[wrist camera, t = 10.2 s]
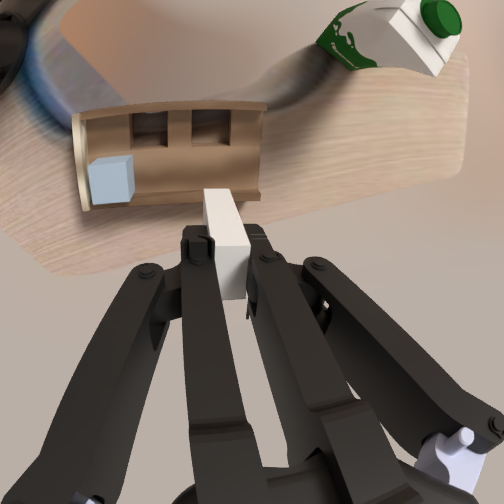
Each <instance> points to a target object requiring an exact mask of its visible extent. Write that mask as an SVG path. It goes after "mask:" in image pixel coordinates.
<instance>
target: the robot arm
mask: <svg viewBox="0 0 504 504" xmlns="http://www.w3.org/2000/svg"><path fill="white" fill-rule="evenodd" d="M1 1H2V0H0V3H1ZM27 42H28V30H27V25H26V23H25V21H24V19H23V18H22V17H21V16H20V15H18V14H15V13H11V12H0V94H1V93H2V92H3V91H4V90H5V89H6V88H7V87H8V86H9V85H10V83H11V82H12V81H13V79H14V77H15V76H16V74H17V72H18V70H19V68H20V66H21V64H22V62H23V59H24V56H25V52H26V48H27ZM180 243H181V262H180V263H179V264H178V265H177V266H175V267H173V268H171V269H167V270H163V268H162V267H161V266H159V265H158V264H154V263H144V264H140V265H138V266H136V267H134V268H133V269H132V270H131V272H130V273H129V275H128V276H127V278H126V280H125V281H124V283H123V285H122V286H121V288H120V290H119V291H118V293H117V295H116V296H115V298H114V300H113V301H112V303H111V305H110V307H109V308H108V310H107V312H106V313H105V315H104V317H103V319H102V321H101V322H100V324H99V326H98V328H97V330H96V331H95V333H94V335H93V337H92V339H91V341H90V343H89V344H88V346H87V348H86V350H85V352H84V354H83V356H82V358H81V360H80V362H79V364H78V366H77V368H76V370H75V372H74V374H73V376H72V378H71V380H70V382H69V385H68V387H67V389H66V391H65V393H64V396H63V398H62V400H61V402H60V405H59V407H58V409H57V411H56V414H55V416H54V418H53V421H52V423H51V426H50V428H49V431H48V433H47V436H46V438H45V441H44V444H43V446H42V449H41V452H40V455H39V456H38V457H37V458H36V460H35V461H34V462H33V463H32V464H31V465H30V467H28V469H27V470H26V471H25V472H24V473H23V474H22V476H21V477H20V478H19V479H18V480H17V482H16V483H15V484H14V485H13V486H12V487H11V489H10V490H9V491H8V492H7V493H6V495H5V496H4V498H3V500H2V502H1V504H116V502H117V500H118V498H119V496H120V493H121V490H122V486H123V483H124V479H125V475H126V471H127V466H128V462H129V458H130V455H131V451H132V447H133V443H134V440H135V435H136V432H137V428H138V425H139V421H140V418H141V414H142V410H143V407H144V404H145V400H146V397H147V394H148V390H149V387H150V384H151V381H152V377H153V374H154V371H155V368H156V364H157V362H158V359H159V355H160V352H161V349H162V346H163V343H164V340H165V337H166V334H167V331H168V328H169V325H170V320H174V319H177V318H181V317H182V332H183V333H182V334H183V355H184V371H185V385H186V397H187V409H188V420H189V441H190V450H191V457H192V465H193V472H194V479H195V484H193V485H192V486H190V487H188V488H187V489H186V490H185V491H183V492H182V493H181V494H180V495H179V496H178V497H177V498H176V499H175V500H174V502H173V503H172V504H479V503H478V502H477V500H476V499H475V498H474V496H473V495H472V493H473V490H474V488H475V485H476V483H477V480H478V477H479V474H480V472H481V468H482V466H483V463H484V460H485V456H486V454H487V453H488V452H489V451H490V450H492V449H493V448H495V447H496V446H497V445H499V444H500V443H502V442H503V440H504V415H503V414H502V413H501V412H500V411H498V410H496V409H495V408H493V407H491V406H490V405H488V404H486V403H485V402H483V401H481V400H480V399H478V398H476V397H475V396H473V395H471V394H469V393H468V392H466V391H465V390H463V389H462V388H461V387H460V386H459V385H458V384H457V383H456V382H455V381H454V380H453V379H452V378H451V377H450V375H448V373H446V372H445V370H444V369H443V368H442V367H441V366H440V365H439V364H438V363H437V362H436V361H435V360H434V359H433V358H432V357H431V356H430V355H429V354H428V353H427V352H426V351H425V350H424V349H423V348H422V347H421V346H420V345H419V344H418V343H417V342H416V341H415V340H414V339H413V338H412V337H411V336H410V335H409V334H408V333H407V332H406V331H405V330H403V329H402V327H400V326H399V325H398V324H397V323H396V322H395V321H394V320H393V319H392V318H391V317H390V316H389V315H388V314H387V313H386V312H385V311H383V309H382V308H380V307H379V306H378V305H377V304H376V303H375V302H374V301H373V300H372V299H371V298H370V297H369V296H368V295H366V293H364V292H363V291H362V290H361V289H360V288H359V287H358V286H357V285H356V284H354V283H353V282H352V281H351V280H350V279H349V278H348V277H347V276H346V275H344V273H342V272H341V271H340V270H339V269H338V268H337V267H336V266H335V265H334V264H332V263H331V262H330V261H328V260H327V259H324V258H322V257H308V258H306V259H305V260H304V262H303V265H297V264H291V263H287V262H286V260H285V258H284V257H283V256H282V254H280V253H279V252H277V251H274V250H273V248H272V246H271V244H270V242H269V240H268V239H267V236H266V235H265V232H264V230H263V228H261V227H260V226H259V225H257V224H242V221H241V218H240V216H239V213H238V211H237V208H236V205H235V203H234V200H233V197H232V195H231V192H230V190H229V189H204V196H203V225H190V226H186V227H185V228H184V229H183V234H182V240H181V242H180ZM246 290H247V294H248V304H247V314H246V319H249V315H250V317H251V321H252V325H253V328H254V332H255V335H256V339H257V342H258V346H259V349H260V353H261V357H262V360H263V364H264V367H265V370H266V374H267V378H268V381H269V384H270V388H271V391H272V395H273V398H274V402H275V405H276V408H277V412H278V415H279V419H280V422H281V425H282V429H283V431H284V435H285V439H286V442H287V457H288V464H289V468H277V467H263V466H262V463H261V459H260V455H259V451H258V447H257V443H256V439H255V436H254V432H253V429H252V427H251V425H250V424H249V423H248V421H247V419H246V415H245V411H244V406H243V402H242V397H241V393H240V389H239V384H238V379H237V375H236V370H235V365H234V361H233V355H232V350H231V345H230V340H229V335H228V330H227V325H226V320H225V314H224V309H223V304H222V300H235V299H245V298H246V297H245V296H246ZM325 301H326V302H327V303H328V304H329V307H328V308H326V307H325V306H324V305H323V304H324V302H325ZM346 381H347V382H348V383H349V385H350V386H351V387H352V388H353V389H354V391H355V392H356V393H357V394H358V396H359V397H360V398H361V399H356V398H355V397H354V396H353V394H352V392H351V390H350V388H349V386H348V384H347V382H346ZM380 423H381V424H382V425H383V426H384V428H385V429H386V430H387V431H388V432H389V434H390V435H391V436H392V437H393V439H395V441H396V442H397V443H398V444H399V445H400V446H401V447H402V448H403V449H404V450H405V451H407V452H408V453H409V454H410V455H412V456H413V457H415V458H416V459H418V460H417V461H416V462H415V465H414V467H412V466H410V465H408V464H406V463H404V462H403V461H401V460H399V459H397V458H396V456H395V454H394V451H393V449H392V447H391V445H390V443H389V441H388V439H387V437H386V435H385V433H384V430H383V428H382V426H381V424H380Z"/></svg>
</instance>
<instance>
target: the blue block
mask: <svg viewBox="0 0 504 504" xmlns="http://www.w3.org/2000/svg"><path fill="white" fill-rule="evenodd" d="M88 174H89V182H90V189H91V196H92V202H93V205H95V204H106V203H118V202H130V200H131V198H132V196H133V194H134V192H135V182H134V169H133V155H124V156H115V157H106V158H97V159H96V160H95V161H94V162H92V163H91V164H90V165H89V166H88Z"/></svg>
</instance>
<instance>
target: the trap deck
mask: <svg viewBox="0 0 504 504" xmlns="http://www.w3.org/2000/svg"><path fill="white" fill-rule="evenodd" d="M267 105H268V103H263V102H250V101H214V100H208V101H173V102H157V103H145V104H134V105H125V106H117V107H109V108H102V109H96V110H90V111H85V112H80V113H76V114H72V129H73V142H74V153H75V163H76V171H77V179H78V186H79V192H80V198H81V204H82V210H83V212H84V211H90V209H101V208H113V207H126V206H140V205H156V204H175V203H198V202H203V196H204V189H229V190H230V192H231V195H232V197H233V200H234V201H260V197H261V194H260V192H259V191H258V176H259V162H260V148H261V134H262V121H263V111H267ZM192 109H230V111H229V132H228V143H191V133H192ZM153 111H168V144H167V145H152V146H139V147H134V136H133V113H141V112H153ZM124 155H133V169H134V182H135V192H134V194H133V196H132V198H131V200H130V202H118V203H106V204H95V205H93V202H92V196H91V189H90V182H89V174H88V166H89V165H90V164H91V163H92V162H94V161H95V160H96V159H97V158H106V157H115V156H124Z"/></svg>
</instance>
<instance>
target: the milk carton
mask: <svg viewBox="0 0 504 504" xmlns="http://www.w3.org/2000/svg"><path fill="white" fill-rule="evenodd" d="M461 30H462V22H461V18H460V15H459V13H458V12H457V10H456V9H455V7H454V6H453V5H452V4H451V3H450V2H448V1H446V0H369V1H366V2H363V3H360V4H357V5H355V6H352V7H350V8H347V9H345V10H343V11H341V12H339V13H338V15H337V16H336V17H335V18H334V19H333V21H332V22H331V23H330V24H329V26H328V27H327V28H326V29H325V30H324V32H323V33H322V34H321V35H320V37H319V38H318V39H317V41H316V43H317V44H318V45H320V46H321V47H322V48H324V49H325V50H326V51H327V52H329V53H330V54H331V55H332V56H334V57H335V58H336V59H337V60H338V61H340V62H341V63H342V64H343V65H344V66H345V67H347V68H348V69H349V70H350V71H353V70H359V69H364V68H372V67H395V68H406V69H410V70H413V71H417V72H420V73H423V74H426V75H429V76H432V77H435V78H436V77H437V75H438V73H439V72H440V70H441V68H442V67H443V65H444V64H445V63H447V61H448V59H449V56H450V54H451V53H452V51H453V49H454V47H455V45H456V43H457V42H458V40H459V38H460V35H459V34H460V33H461Z"/></svg>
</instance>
